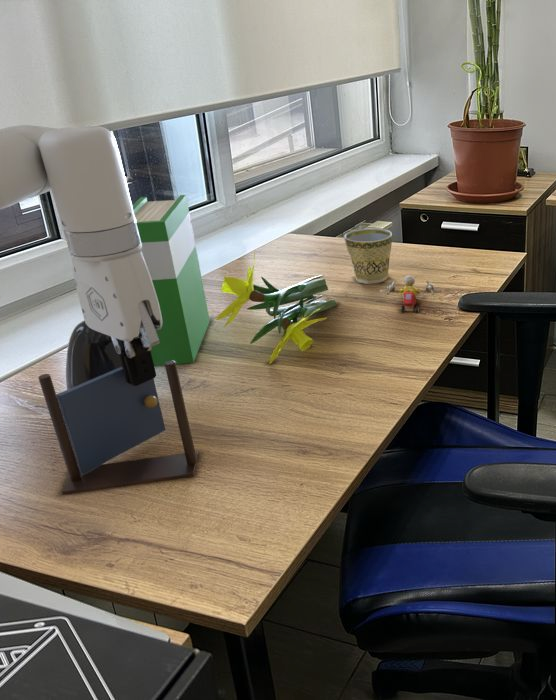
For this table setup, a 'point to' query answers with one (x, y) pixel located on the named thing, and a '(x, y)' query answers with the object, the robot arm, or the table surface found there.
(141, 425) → the door
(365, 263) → the ceramic cup
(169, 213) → the hardback book
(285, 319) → the daffodil flowers
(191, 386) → the table surface
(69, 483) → the door frame
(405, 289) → the toy airplane
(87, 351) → the dark grey rounded dome
